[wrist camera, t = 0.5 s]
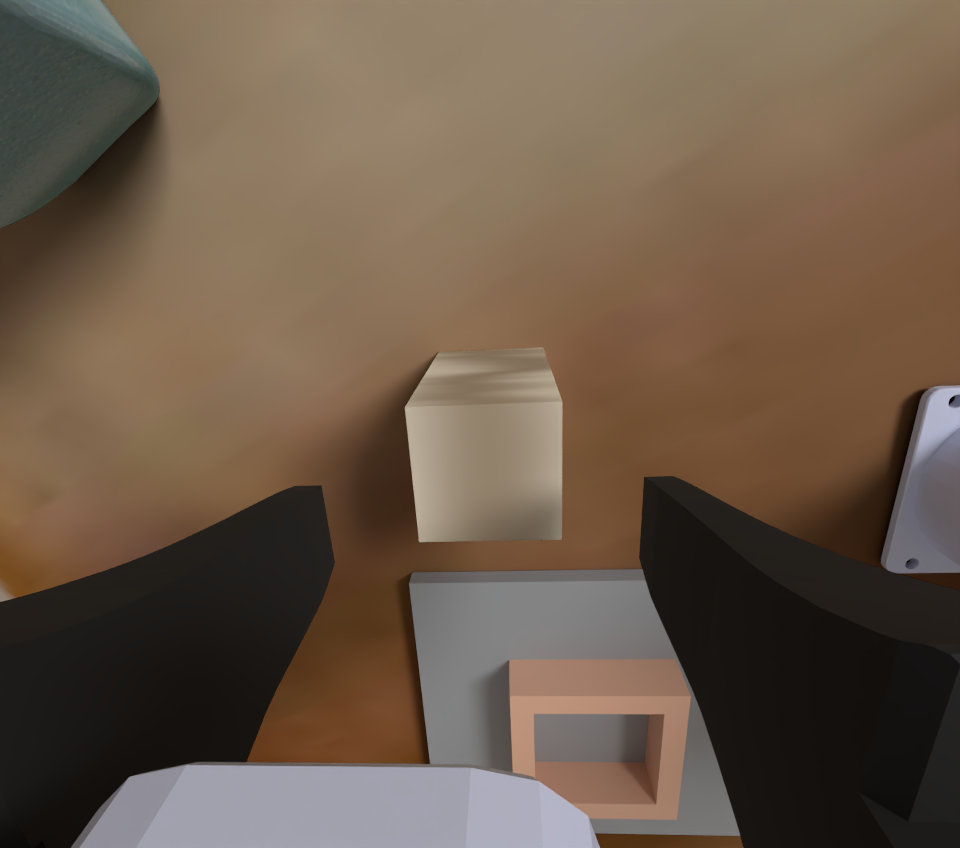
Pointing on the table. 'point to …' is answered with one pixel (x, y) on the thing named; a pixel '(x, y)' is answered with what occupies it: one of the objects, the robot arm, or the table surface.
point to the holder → (568, 695)
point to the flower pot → (62, 96)
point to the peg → (487, 447)
